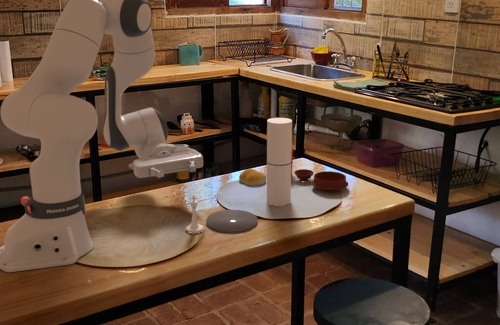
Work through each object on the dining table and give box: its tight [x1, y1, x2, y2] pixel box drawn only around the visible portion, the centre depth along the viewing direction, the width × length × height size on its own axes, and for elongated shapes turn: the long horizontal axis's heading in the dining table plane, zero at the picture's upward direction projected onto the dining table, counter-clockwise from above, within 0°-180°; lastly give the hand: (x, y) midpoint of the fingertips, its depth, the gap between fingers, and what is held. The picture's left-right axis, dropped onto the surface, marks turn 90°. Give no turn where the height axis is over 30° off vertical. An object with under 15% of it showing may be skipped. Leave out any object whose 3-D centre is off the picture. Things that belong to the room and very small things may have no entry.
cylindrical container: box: [266, 117, 293, 207], centre depth 166 cm, size 7×7×25 cm
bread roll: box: [239, 168, 267, 186], centre depth 187 cm, size 8×9×4 cm
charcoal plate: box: [206, 209, 258, 234], centre depth 155 cm, size 14×14×1 cm
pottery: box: [293, 168, 349, 193], centre depth 183 cm, size 12×20×4 cm, turn 43°
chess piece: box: [185, 194, 205, 234], centre depth 149 cm, size 5×5×10 cm
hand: (177, 172), depth 157 cm, fingers open, 8 cm apart
